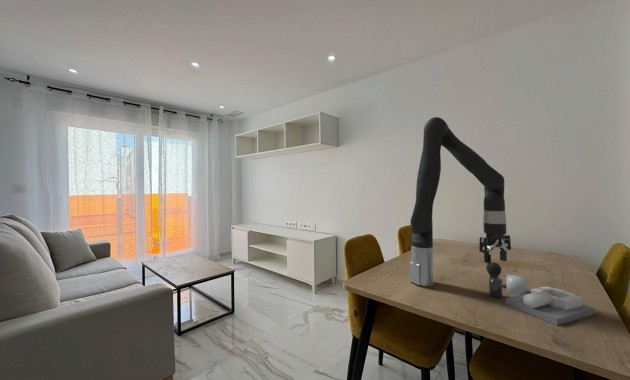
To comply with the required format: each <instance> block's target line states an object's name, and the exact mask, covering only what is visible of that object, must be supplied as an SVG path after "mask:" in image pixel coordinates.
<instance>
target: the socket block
mask: <svg viewBox="0 0 630 380" xmlns="http://www.w3.org/2000/svg"><path fill="white" fill-rule="evenodd" d="M582 301H583V297H581V296H579V295H576V294H575V293H573V292H569V291H565V290H562V289H559V288H556V287H554V288H552V287H548V286H547V285H546V286H541V287H536V288H532V289H530V292H529V293H527V294H524V295H514V296H512V297H511V296H510V297H507V298H505V304H506V305H508V306H510V307H512V308H514V309H517V310H520V311H522V312H523V313H527V314H529V315H531V316H534V317H536V318H538V319H541V320H543V321H546V322H548V323H550V324H553V325H555V326H560V325H563V324H566V323H570V322H573V321H577V320H580V319H584V318H587V317H590V316H594V315H596V308H595V307H592V306H589V305H587V304H583V302H582ZM593 314H594V315H593Z"/></svg>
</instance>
